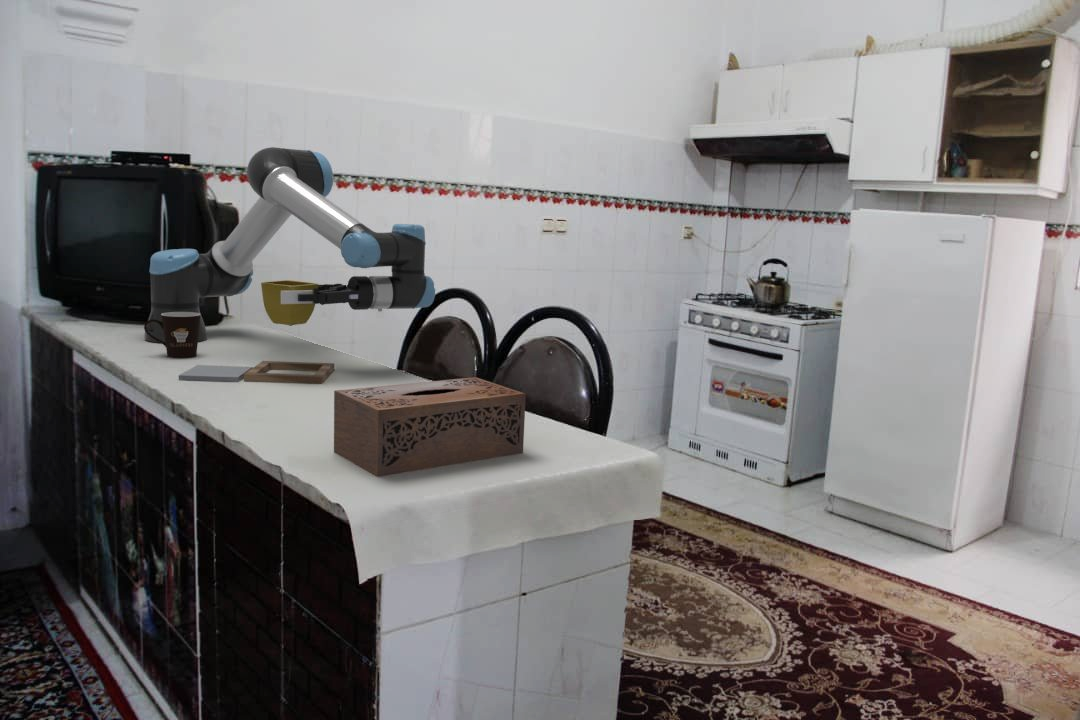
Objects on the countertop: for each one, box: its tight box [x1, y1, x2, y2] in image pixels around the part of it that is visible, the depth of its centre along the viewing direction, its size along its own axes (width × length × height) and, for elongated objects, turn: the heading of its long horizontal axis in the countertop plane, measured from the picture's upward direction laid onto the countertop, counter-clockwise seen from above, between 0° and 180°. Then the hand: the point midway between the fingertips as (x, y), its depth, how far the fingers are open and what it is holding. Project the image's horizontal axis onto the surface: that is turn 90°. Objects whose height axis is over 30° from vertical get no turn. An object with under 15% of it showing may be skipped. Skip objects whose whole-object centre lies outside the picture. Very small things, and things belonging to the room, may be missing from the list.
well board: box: [243, 360, 335, 385], centre depth 194 cm, size 16×16×2 cm
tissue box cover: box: [333, 376, 527, 478], centre depth 139 cm, size 26×14×10 cm, turn 127°
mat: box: [178, 364, 254, 383], centre depth 190 cm, size 12×12×1 cm
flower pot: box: [260, 279, 319, 327], centre depth 191 cm, size 9×9×9 cm
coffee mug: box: [143, 312, 202, 359], centre depth 210 cm, size 12×9×10 cm
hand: (272, 294), depth 189 cm, fingers closed on flower pot, 11 cm apart
